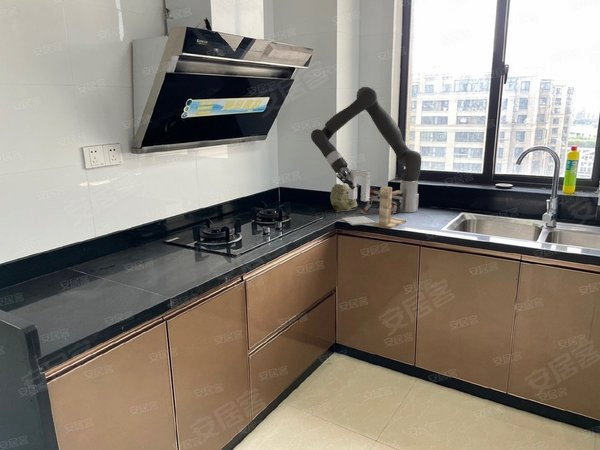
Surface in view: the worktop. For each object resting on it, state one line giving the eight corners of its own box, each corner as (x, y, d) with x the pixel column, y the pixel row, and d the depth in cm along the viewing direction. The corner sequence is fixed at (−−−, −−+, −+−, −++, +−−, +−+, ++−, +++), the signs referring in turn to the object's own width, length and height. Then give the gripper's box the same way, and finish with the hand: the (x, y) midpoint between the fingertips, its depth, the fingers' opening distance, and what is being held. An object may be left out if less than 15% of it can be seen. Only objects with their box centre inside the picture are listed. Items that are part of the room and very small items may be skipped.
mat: (364, 217, 234) (364, 216, 233) (375, 223, 222) (376, 221, 221) (341, 219, 230) (341, 218, 229) (352, 225, 218) (352, 224, 217)
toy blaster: (398, 220, 240) (405, 193, 237) (360, 213, 240) (366, 186, 236) (396, 218, 244) (403, 192, 240) (359, 211, 243) (365, 185, 240)
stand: (390, 219, 229) (392, 182, 224) (406, 222, 223) (408, 184, 219) (373, 226, 216) (374, 187, 211) (389, 229, 211) (391, 189, 206)
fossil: (327, 211, 248) (327, 184, 244) (347, 205, 261) (348, 180, 257) (340, 213, 242) (340, 186, 238) (360, 208, 255) (360, 182, 251)
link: (348, 198, 224) (349, 169, 221) (352, 197, 227) (353, 168, 223) (365, 201, 218) (366, 171, 215) (369, 200, 221) (370, 170, 217)
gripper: (333, 158, 219) (353, 185, 215) (348, 155, 230) (368, 181, 226) (324, 167, 224) (343, 194, 219) (340, 165, 234) (358, 190, 230)
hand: (355, 187), depth 223 cm, fingers closed on link, 3 cm apart
